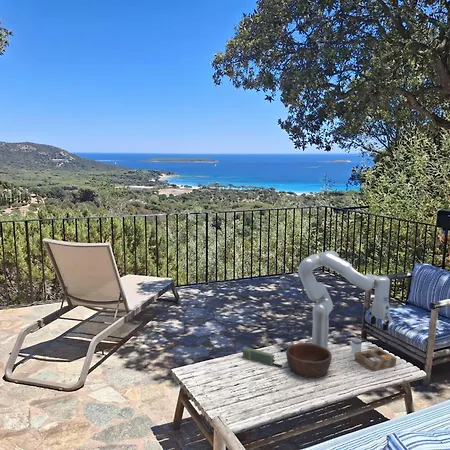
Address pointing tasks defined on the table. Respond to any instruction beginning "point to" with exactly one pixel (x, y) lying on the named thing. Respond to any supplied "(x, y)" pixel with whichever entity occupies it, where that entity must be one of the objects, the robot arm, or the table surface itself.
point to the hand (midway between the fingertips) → (379, 327)
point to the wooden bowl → (308, 359)
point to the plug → (356, 346)
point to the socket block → (375, 359)
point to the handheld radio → (259, 356)
